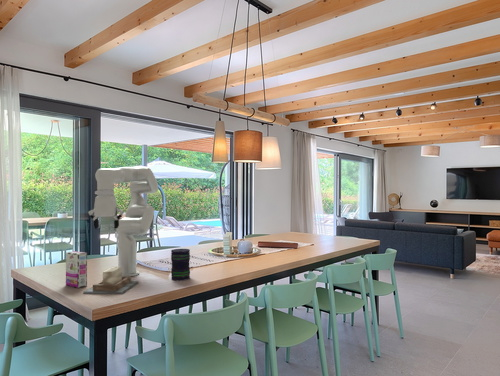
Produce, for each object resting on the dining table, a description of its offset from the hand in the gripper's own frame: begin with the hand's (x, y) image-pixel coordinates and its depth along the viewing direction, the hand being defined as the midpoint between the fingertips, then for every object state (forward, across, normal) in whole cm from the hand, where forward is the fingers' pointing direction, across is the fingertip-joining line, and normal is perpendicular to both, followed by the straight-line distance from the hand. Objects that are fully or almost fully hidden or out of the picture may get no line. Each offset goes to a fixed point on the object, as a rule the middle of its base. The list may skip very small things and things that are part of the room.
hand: (106, 228), depth 177 cm
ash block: (+27, +5, -6) cm, 28 cm away
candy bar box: (+28, -15, -1) cm, 32 cm away
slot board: (+28, +5, -6) cm, 29 cm away
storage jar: (+29, +34, +12) cm, 46 cm away
